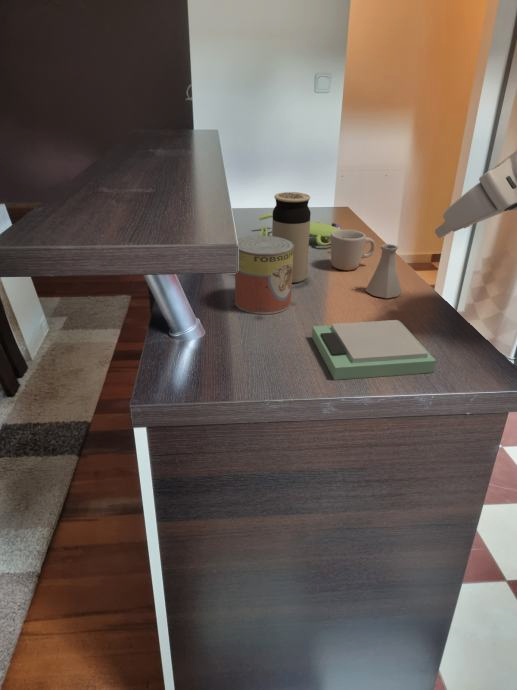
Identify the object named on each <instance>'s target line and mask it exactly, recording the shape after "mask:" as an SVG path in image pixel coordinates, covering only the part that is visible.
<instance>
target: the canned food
mask: <svg viewBox="0 0 517 690" xmlns="http://www.w3.org/2000/svg"><path fill="white" fill-rule="evenodd" d="M237 240H238V245H239V271H238V273H236V274H235V273H234V290H235V291H234V293H235V294H234V295H235V297H234V298H235V299H234V304H235V306H236V308H238V309H239V310H241V311H243V312H246V313H249V314H254V315H273V314H279V313H282V312H284V311H287V310H288V309H290V307H291V306H292V285H293V283H292V268H293V248H294V244H293V242H291V241H290V240H288V239H285V238H281V237H275V236H272V235H268V236H265V235H263V236H260V235H252V236H246V237H242V238H239V239H237Z"/></svg>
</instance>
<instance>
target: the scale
mask: <svg viewBox="0 0 517 690" xmlns="http://www.w3.org/2000/svg"><path fill="white" fill-rule="evenodd" d="M311 339H312V340H313V343H314V344H315V347H316V348H317V350H318V352H319V355H320V356H321V358H322V359H323V362H324V364H325V365H326V367H327V369H328V371H329V373H330V375H331V376H332V378H333V380H334V381H339V380H341V381H342V380H353V379H367V378H379V377H380V378H381V377H392V376H393V377H394V376H406V375H408V376H409V375H419V374H433V373H434V372H435V369H436V364H437V363H436V362H437V360H436V358H434V357H433V356H432V354H431V353H430V352H429V351H428V350H427V349H426V348H425V347H424V345H422V343H420V341H419V340H418V338H416V337H415V336H414V334H413V333H412V332H411V331H410V330H409V329H408V327H406V325H404V324H403V322H402V321H400V320H398V319H391V320H390V319H389V320H374V321H373V320H371V321H357V322H340V323H330V325H313V326H312V329H311Z"/></svg>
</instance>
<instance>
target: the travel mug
mask: <svg viewBox="0 0 517 690" xmlns="http://www.w3.org/2000/svg"><path fill="white" fill-rule="evenodd" d="M273 197H274V199H275V206H274V208H273V210H272V213H273V217H272V225H271V226H272V227H271V228H272V229H271V231H272V232H271V236H275V237H281V238H285V239H288V240H290V241H291V242H293V244H294V248H293V268H292V284H295V283H301V282H303V281H305V280H306V279H307V278H308V265H309V264H308V262H309V246H310V237H309V231H310V221H311V213H312V212H311V210H310V207H309V201H310V199H311V196H310V195H309V194H307V193H303V192H298V191H297V192H296V191H287V192H286V191H285V192H284V191H283V192H279V193H276V194H275V195H274V196H273Z"/></svg>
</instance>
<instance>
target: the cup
mask: <svg viewBox="0 0 517 690" xmlns="http://www.w3.org/2000/svg"><path fill="white" fill-rule="evenodd" d="M367 243H370V249H369V251H368V252H366V253H365V252H364V249H365V246H366V244H367ZM375 249H376V242H375V240H374V239H372V237H367V236H366V234H365V233H364V232H362V231H359V230H355V229H341V230H336V231H333V232H332V233H331V244H330V262H331V265H332V267H333V268H334V269H337V270H341V271H353V270H356V269H357V268H359V266H360V264H361V260H363V259H365V258H370V257H371V256H373V254H374V253H375Z"/></svg>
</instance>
